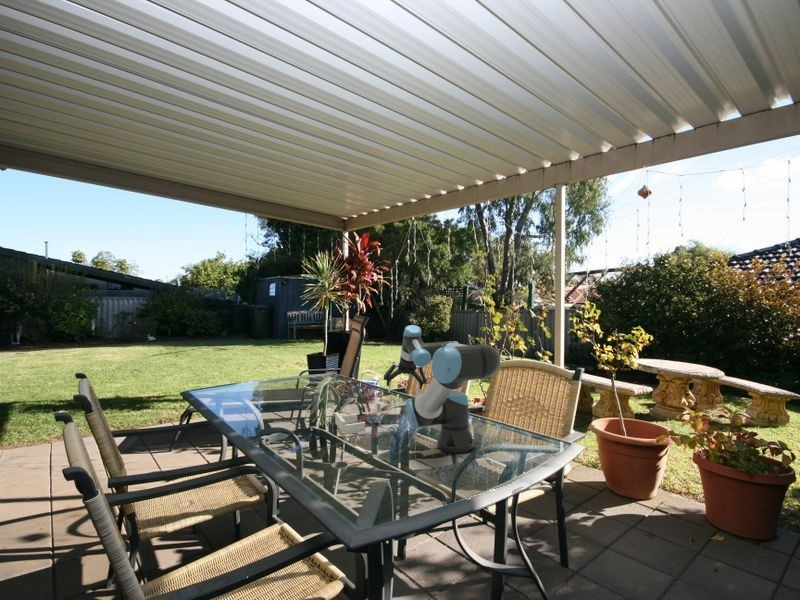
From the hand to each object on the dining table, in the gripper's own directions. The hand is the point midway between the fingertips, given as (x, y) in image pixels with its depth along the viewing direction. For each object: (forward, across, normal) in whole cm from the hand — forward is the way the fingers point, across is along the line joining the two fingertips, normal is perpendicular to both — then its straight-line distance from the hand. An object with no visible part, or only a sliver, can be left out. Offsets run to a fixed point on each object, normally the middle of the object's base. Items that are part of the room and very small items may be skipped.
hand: (403, 392), depth 203 cm
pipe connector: (+22, +9, 0) cm, 24 cm away
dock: (+21, +24, +5) cm, 32 cm away
